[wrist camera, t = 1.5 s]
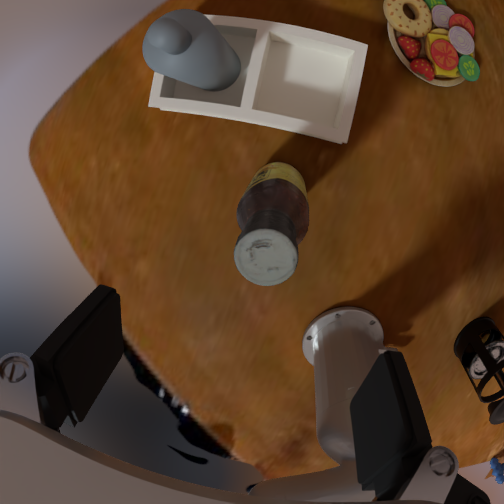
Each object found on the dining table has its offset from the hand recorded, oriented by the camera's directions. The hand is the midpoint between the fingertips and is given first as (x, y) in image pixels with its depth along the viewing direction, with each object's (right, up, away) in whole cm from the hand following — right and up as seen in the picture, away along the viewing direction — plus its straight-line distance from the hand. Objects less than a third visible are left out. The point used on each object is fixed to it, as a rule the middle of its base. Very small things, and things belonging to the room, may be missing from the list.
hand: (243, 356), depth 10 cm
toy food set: (+23, +31, +17) cm, 42 cm away
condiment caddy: (+1, +24, +22) cm, 32 cm away
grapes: (+87, -70, +51) cm, 123 cm away
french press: (+40, -12, +32) cm, 53 cm away
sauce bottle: (+4, +11, +27) cm, 29 cm away
